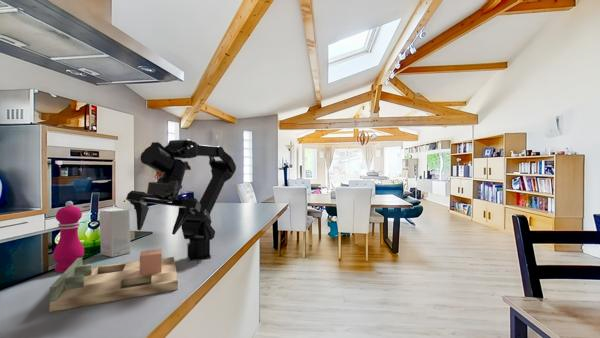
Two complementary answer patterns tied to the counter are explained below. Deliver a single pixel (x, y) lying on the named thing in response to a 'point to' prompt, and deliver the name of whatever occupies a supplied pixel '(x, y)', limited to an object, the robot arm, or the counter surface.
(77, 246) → the pepper mill
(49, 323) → the counter surface
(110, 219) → the skincare box
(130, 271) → the board
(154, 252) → the block
